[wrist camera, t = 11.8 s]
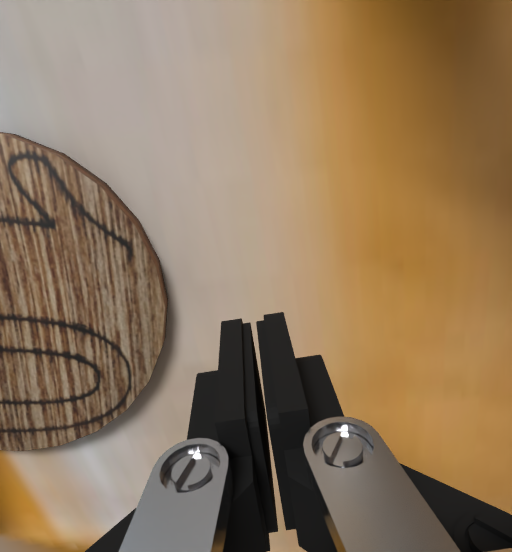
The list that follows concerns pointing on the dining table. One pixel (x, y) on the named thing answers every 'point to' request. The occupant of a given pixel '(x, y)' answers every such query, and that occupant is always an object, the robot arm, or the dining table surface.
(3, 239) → the trivet
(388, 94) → the dining table surface
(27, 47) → the dining table surface
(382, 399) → the dining table surface
